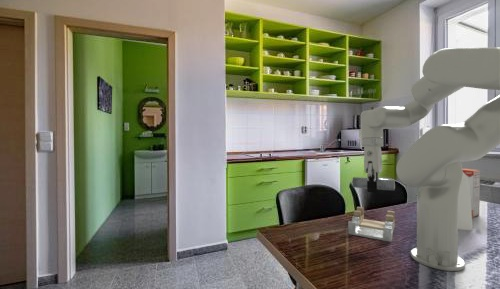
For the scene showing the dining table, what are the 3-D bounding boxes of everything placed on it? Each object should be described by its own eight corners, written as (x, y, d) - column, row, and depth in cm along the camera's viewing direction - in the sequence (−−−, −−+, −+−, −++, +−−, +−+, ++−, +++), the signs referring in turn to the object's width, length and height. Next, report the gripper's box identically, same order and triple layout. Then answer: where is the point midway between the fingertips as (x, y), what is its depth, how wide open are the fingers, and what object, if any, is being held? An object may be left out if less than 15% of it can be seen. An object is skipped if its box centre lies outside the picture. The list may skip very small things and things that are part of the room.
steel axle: (393, 191, 90) (393, 180, 90) (352, 188, 98) (352, 177, 98) (394, 189, 93) (394, 178, 93) (354, 186, 101) (354, 176, 101)
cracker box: (437, 209, 124) (438, 167, 123) (445, 208, 126) (445, 166, 126) (472, 217, 111) (473, 170, 110) (480, 215, 114) (480, 169, 113)
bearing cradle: (393, 232, 95) (393, 216, 95) (353, 225, 102) (353, 211, 102) (394, 226, 101) (394, 211, 101) (357, 220, 109) (357, 206, 109)
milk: (435, 227, 100) (436, 162, 99) (425, 218, 111) (425, 159, 110) (472, 230, 96) (473, 162, 96) (457, 220, 107) (458, 159, 106)
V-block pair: (391, 241, 86) (391, 228, 86) (348, 233, 94) (348, 221, 94) (392, 234, 93) (392, 222, 93) (352, 227, 101) (352, 216, 101)
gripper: (379, 142, 87) (381, 196, 86) (386, 142, 100) (387, 188, 100) (356, 143, 91) (357, 194, 91) (365, 143, 105) (366, 187, 104)
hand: (373, 190), depth 95 cm, fingers closed on steel axle, 4 cm apart
